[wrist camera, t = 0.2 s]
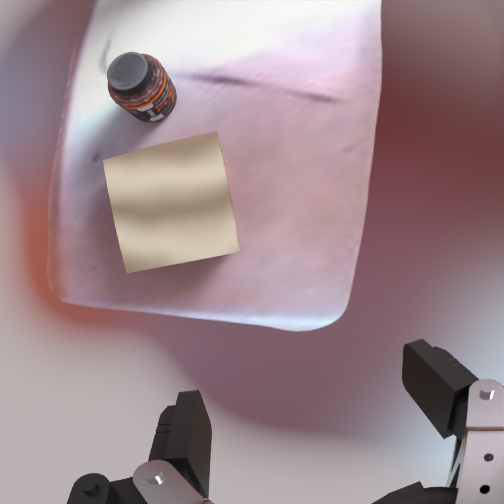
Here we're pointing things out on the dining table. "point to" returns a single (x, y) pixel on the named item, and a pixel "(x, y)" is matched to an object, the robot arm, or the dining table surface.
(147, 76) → the supplement bottle
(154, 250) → the birch block
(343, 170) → the dining table surface
